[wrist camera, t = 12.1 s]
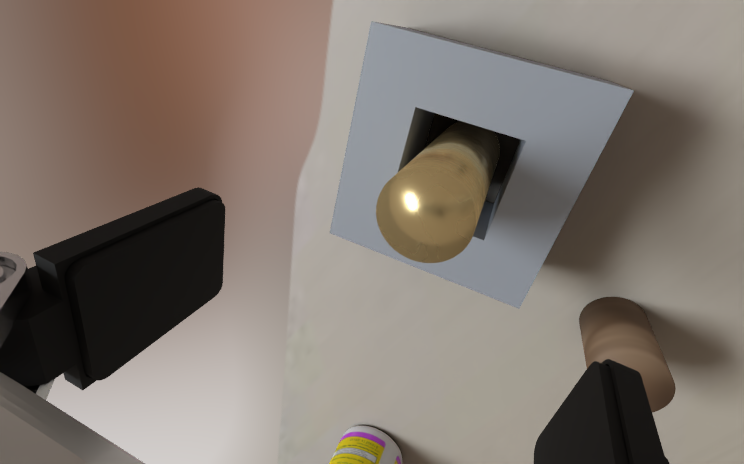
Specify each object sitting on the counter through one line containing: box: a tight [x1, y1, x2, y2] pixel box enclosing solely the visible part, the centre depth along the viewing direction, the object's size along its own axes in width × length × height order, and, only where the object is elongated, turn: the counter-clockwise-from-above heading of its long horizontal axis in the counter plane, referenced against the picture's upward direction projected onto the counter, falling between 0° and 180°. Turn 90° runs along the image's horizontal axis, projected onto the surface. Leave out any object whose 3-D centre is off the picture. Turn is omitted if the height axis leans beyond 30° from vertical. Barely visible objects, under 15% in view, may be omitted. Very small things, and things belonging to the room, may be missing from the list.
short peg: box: [579, 297, 675, 412], centre depth 24 cm, size 4×4×6 cm
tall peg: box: [376, 121, 500, 263], centre depth 21 cm, size 4×4×12 cm
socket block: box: [330, 21, 634, 308], centre depth 23 cm, size 12×12×6 cm
